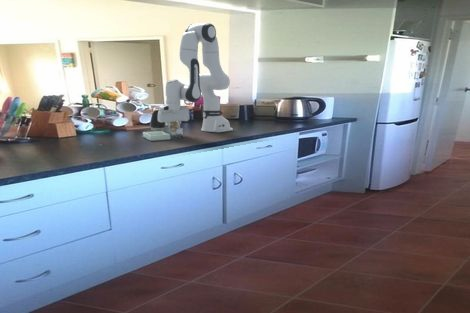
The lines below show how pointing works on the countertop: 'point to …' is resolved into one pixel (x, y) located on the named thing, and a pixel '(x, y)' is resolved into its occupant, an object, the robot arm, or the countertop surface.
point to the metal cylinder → (179, 133)
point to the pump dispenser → (156, 122)
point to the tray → (156, 135)
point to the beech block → (173, 126)
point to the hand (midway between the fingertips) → (174, 128)
